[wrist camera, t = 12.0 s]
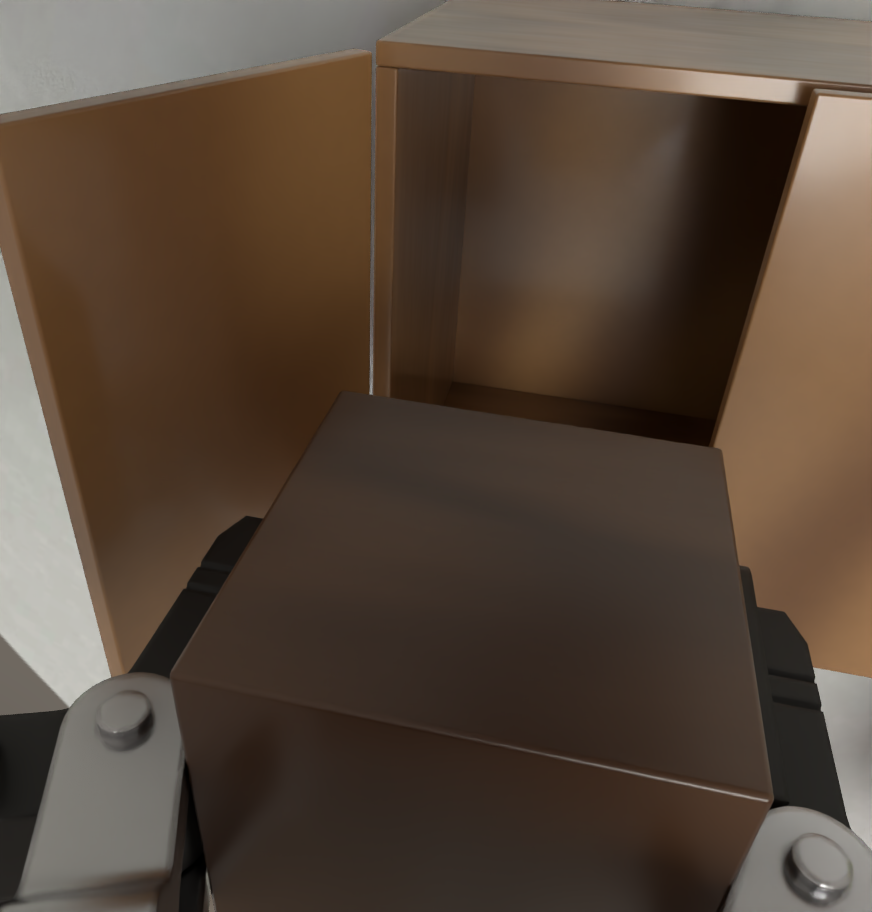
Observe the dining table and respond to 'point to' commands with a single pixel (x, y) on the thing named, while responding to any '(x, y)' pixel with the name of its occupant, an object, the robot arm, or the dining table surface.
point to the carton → (648, 255)
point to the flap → (187, 305)
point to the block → (478, 676)
